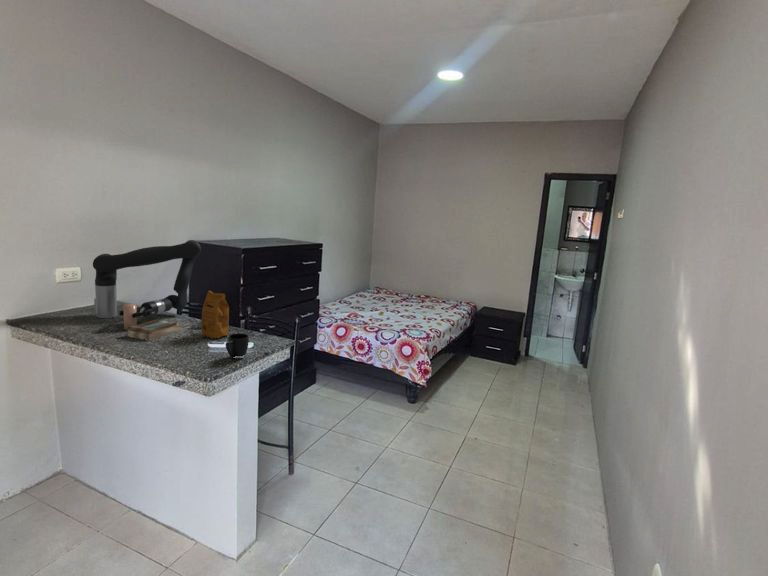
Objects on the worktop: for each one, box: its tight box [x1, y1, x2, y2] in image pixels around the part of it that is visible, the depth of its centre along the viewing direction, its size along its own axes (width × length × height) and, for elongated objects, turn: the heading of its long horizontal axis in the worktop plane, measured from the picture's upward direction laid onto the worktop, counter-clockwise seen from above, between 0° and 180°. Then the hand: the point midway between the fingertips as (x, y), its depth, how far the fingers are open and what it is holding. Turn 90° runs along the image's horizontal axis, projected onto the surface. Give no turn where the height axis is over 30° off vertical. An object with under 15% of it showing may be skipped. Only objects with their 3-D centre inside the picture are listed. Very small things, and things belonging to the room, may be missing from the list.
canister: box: [122, 303, 138, 331], centre depth 204 cm, size 6×6×12 cm
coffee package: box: [200, 290, 230, 340], centre depth 204 cm, size 10×12×22 cm
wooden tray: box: [126, 318, 182, 341], centre depth 201 cm, size 12×20×5 cm, turn 165°
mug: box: [225, 332, 250, 359], centre depth 177 cm, size 8×12×10 cm
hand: (126, 314), depth 202 cm, fingers open, 7 cm apart
